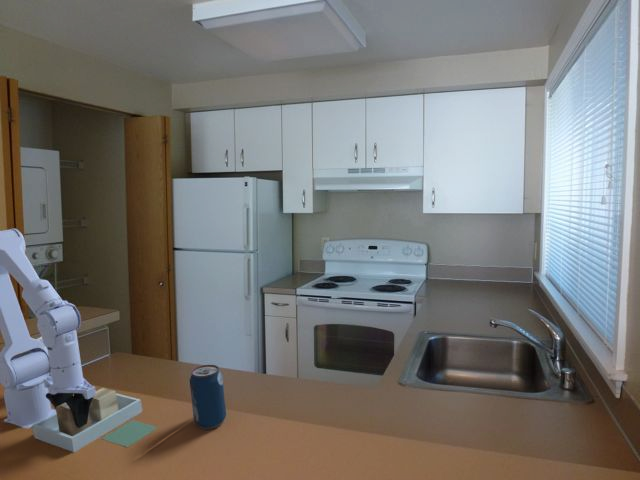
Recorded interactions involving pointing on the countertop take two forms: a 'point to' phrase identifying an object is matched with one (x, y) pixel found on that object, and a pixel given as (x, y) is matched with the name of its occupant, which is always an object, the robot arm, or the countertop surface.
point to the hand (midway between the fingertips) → (74, 423)
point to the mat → (129, 433)
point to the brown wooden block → (68, 420)
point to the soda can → (207, 396)
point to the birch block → (103, 404)
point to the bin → (51, 434)
